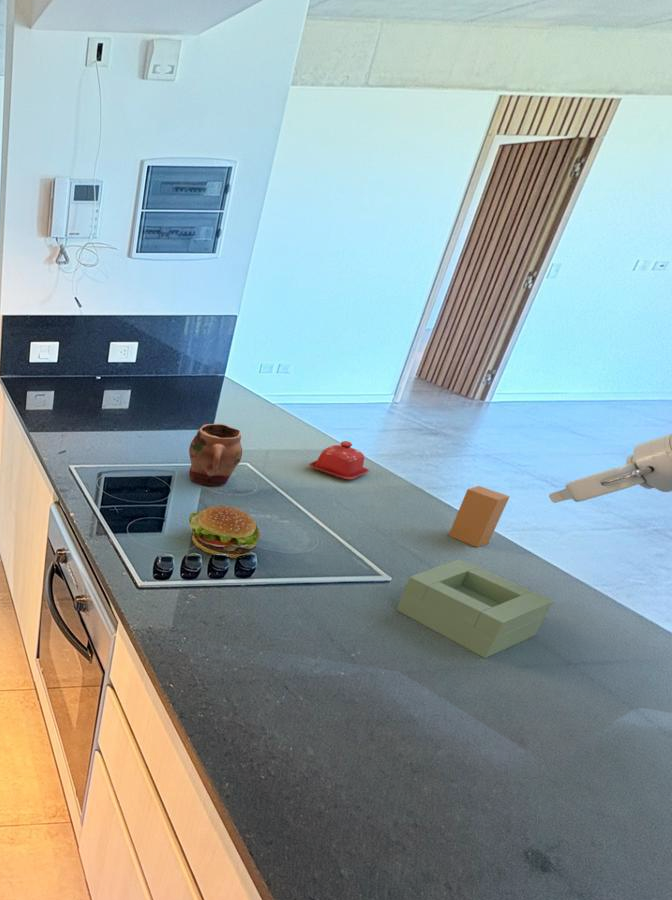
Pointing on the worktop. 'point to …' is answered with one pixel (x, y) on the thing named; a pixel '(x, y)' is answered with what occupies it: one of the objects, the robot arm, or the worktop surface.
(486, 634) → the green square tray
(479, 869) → the worktop surface
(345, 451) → the butter dish
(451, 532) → the orange rectangular block
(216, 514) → the food
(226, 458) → the decorative planter
